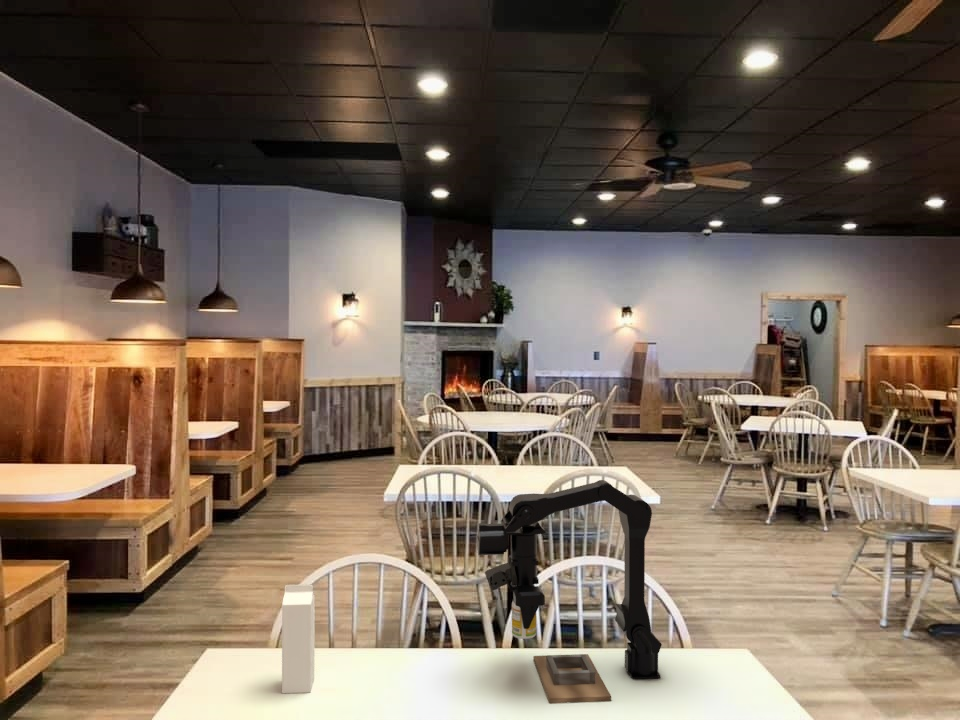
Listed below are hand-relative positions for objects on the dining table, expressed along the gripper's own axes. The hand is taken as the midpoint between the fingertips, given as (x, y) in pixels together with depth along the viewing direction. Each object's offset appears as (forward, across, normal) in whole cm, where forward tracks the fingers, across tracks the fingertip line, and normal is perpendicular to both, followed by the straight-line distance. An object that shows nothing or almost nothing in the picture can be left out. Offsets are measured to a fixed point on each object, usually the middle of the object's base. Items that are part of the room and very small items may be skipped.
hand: (524, 623), depth 157 cm
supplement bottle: (+3, 0, 0) cm, 3 cm away
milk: (+12, +1, -49) cm, 50 cm away
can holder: (+12, +2, +10) cm, 16 cm away
